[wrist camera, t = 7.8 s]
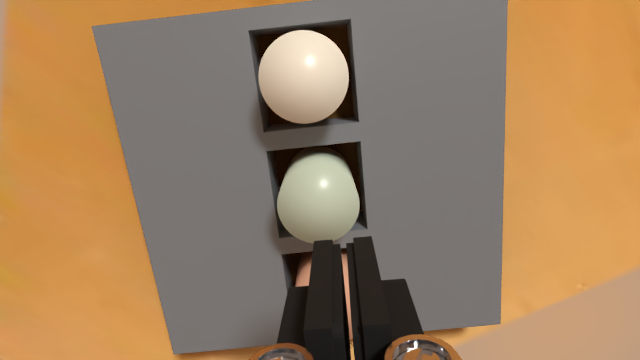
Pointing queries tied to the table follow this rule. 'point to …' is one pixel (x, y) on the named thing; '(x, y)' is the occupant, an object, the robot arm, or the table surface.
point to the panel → (262, 139)
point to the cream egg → (303, 76)
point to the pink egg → (304, 276)
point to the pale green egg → (318, 196)
